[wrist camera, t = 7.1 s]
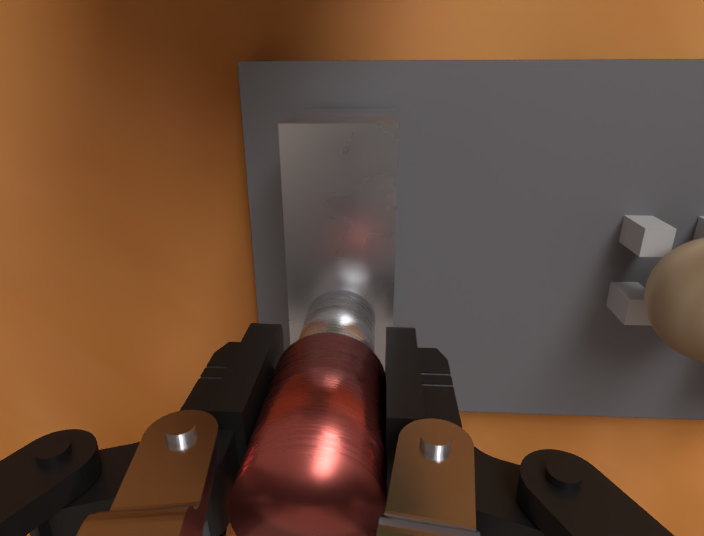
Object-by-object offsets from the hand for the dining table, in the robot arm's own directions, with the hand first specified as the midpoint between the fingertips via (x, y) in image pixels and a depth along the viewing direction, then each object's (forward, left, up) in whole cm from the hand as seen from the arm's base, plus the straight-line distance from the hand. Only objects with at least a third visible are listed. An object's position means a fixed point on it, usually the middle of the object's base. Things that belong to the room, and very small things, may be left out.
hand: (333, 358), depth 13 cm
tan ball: (-12, 0, -4) cm, 12 cm away
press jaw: (0, 0, -7) cm, 7 cm away
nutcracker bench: (-7, 0, -9) cm, 11 cm away
